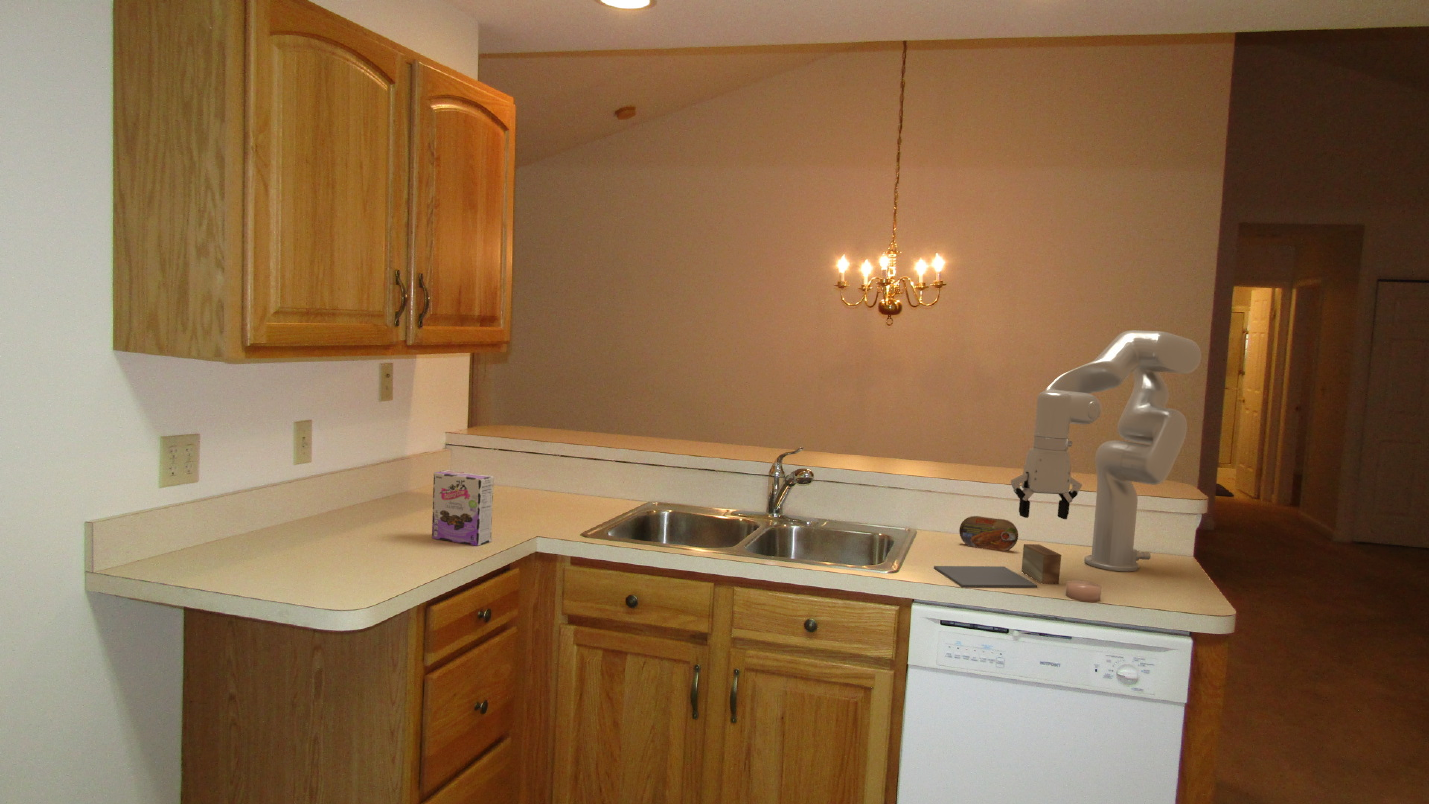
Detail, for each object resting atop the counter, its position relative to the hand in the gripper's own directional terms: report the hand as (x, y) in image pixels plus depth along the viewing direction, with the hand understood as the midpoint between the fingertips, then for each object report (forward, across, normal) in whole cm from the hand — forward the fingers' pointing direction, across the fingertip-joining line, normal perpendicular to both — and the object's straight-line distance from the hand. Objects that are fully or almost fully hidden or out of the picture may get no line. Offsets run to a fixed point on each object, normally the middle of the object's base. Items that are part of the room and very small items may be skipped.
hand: (1043, 517), depth 216 cm
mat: (+15, +13, 0) cm, 20 cm away
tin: (+14, -2, -29) cm, 33 cm away
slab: (+15, -1, 0) cm, 15 cm away
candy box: (+17, +134, -31) cm, 139 cm away
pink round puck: (+15, -3, +15) cm, 21 cm away
